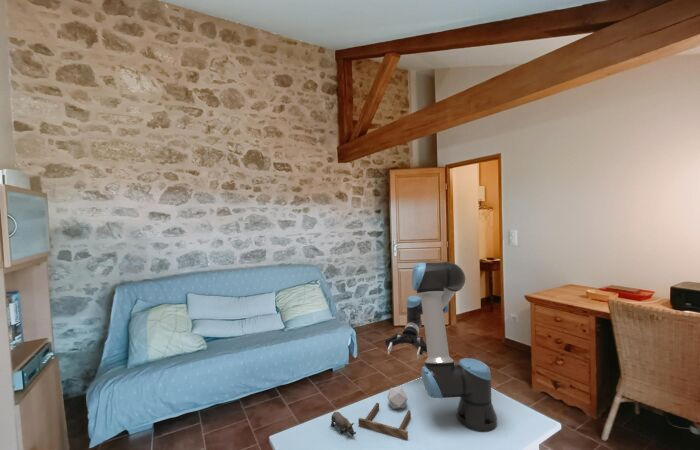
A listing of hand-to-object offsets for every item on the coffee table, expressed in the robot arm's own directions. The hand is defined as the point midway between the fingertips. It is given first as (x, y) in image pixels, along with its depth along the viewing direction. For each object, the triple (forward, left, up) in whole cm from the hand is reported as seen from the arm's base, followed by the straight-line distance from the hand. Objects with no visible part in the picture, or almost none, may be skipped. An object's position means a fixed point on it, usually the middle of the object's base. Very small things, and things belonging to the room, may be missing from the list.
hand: (402, 354), depth 146 cm
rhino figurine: (+15, +32, -21) cm, 41 cm away
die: (+1, +8, -20) cm, 22 cm away
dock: (+1, +20, -20) cm, 28 cm away
